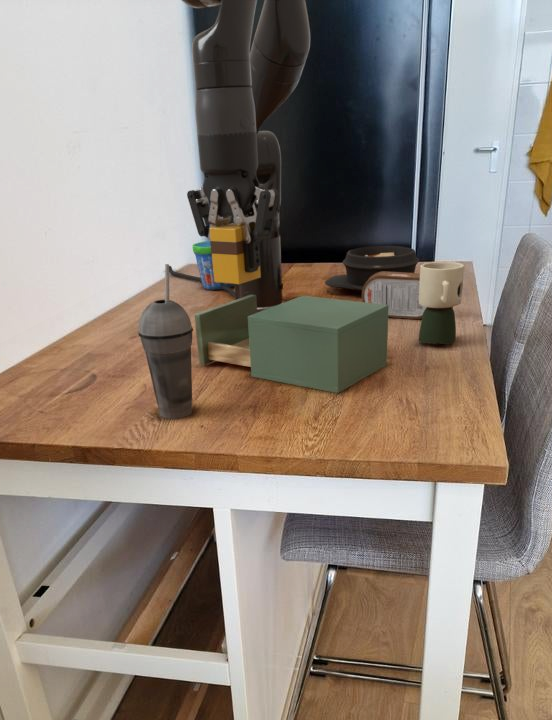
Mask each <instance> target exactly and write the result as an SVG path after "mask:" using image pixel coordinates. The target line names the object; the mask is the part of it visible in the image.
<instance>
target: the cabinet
mask: <svg viewBox="0 0 552 720" xmlns="http://www.w3.org/2000/svg"><path fill="white" fill-rule="evenodd" d="M388 309H389V305H383V304H374V303H365V302H363V301H357V300H348V299H347V300H345V299H337V298H329V297H319V296H310V295H301V296H298V297H296V298H295V297H294V298H292V299H290V300H287V301H285V302H283V303H282V304H279V305H277V306H274V307H271V308H269V309H266V310H263V311H261V312H257V313H255V314H253V315H250V316H248V330H249V346H250V361H251V367H250V374H251V377H252V378H256V379H262V380H267V381H272V382H278V383H283V384H288V385H293V386H298V387H304V388H308V389H309V388H310V389H315V390H319V391H323V392H324V391H325V392H330V393H335V394H339V393H341V392H343V391H344V390H346V389H348V388H350V387H351V386H353V385H355V384H356V383H359V382H360V381H361V380H363V379H365V378H367V377H368V376H370V375H372V374H374V373H375V372H377V371H379V370H381V369H382V368H384V367H385V366H387V365H388V337H389V335H388V333H389V317H388Z"/></svg>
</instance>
